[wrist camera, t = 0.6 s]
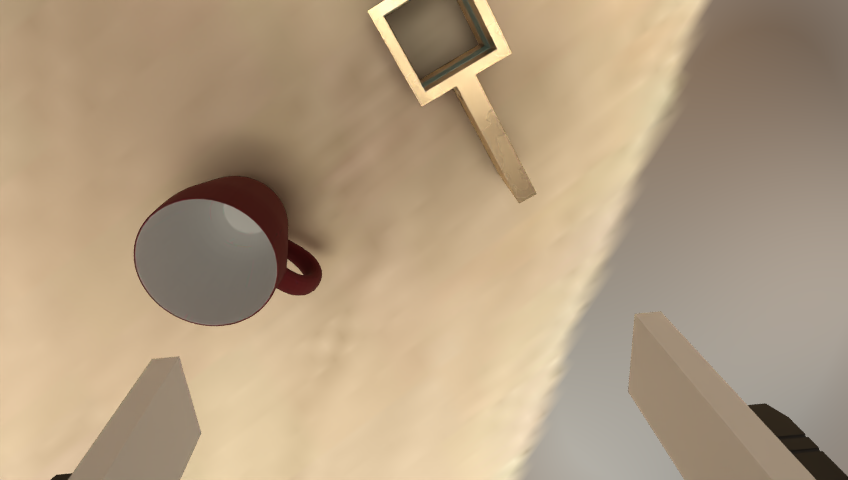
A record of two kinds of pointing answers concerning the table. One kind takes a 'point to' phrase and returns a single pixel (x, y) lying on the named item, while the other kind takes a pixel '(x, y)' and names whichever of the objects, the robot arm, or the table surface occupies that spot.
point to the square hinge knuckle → (466, 87)
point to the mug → (220, 252)
